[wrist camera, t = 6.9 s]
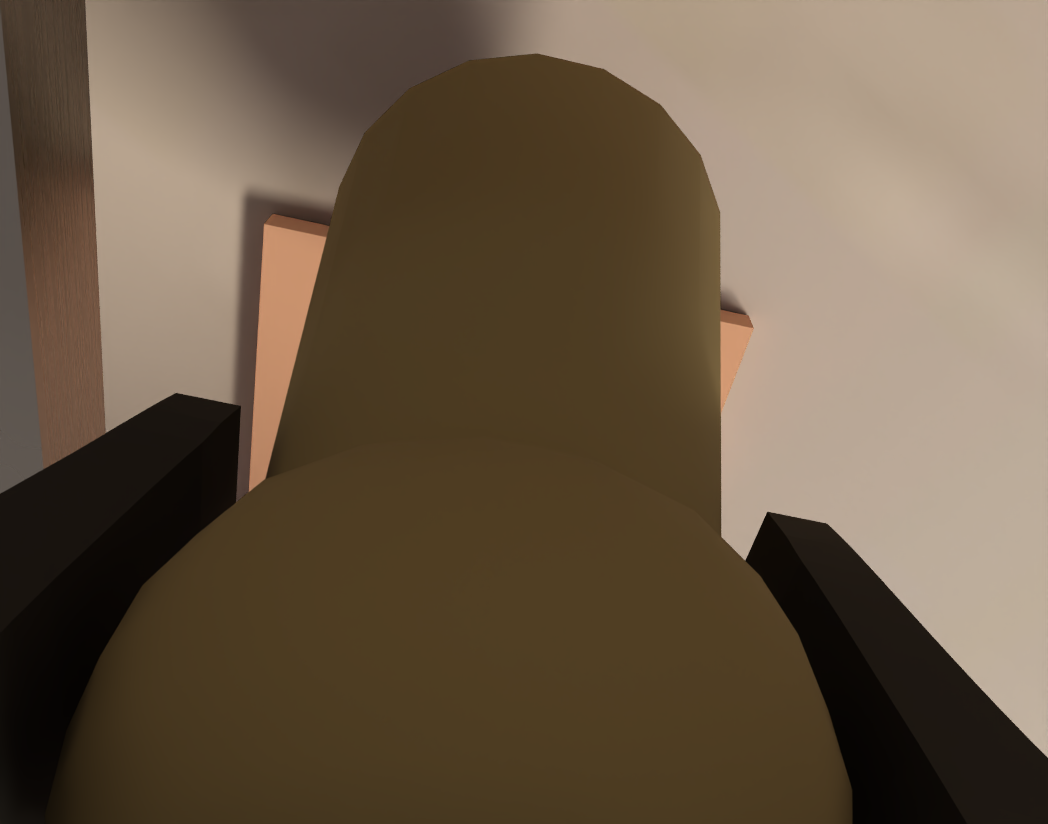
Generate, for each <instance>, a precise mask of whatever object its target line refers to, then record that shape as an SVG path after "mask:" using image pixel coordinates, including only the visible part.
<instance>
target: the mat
mask: <svg viewBox="0 0 1048 824" xmlns="http://www.w3.org/2000/svg"><path fill="white" fill-rule="evenodd" d="M328 229H329V226H327V225H323V224H318V223H313V222H309V221H304V220H299V219H295V218H290V217H285V216H281V215H276V214H272V215H271V217H270V218H269V219H268V220H267V221H266V222H265V224H264V235H263V252H262V269H261V287H260V304H259V322H258V339H257V357H256V374H255V392H254V409H253V426H252V444H251V461H250V479H249V492H250V491H251V490H252V489H253V488H254V487H256V486H257V485H258V484H259V483H261V482H262V481H263V480H264V479H265V478H266V474H267V470H268V466H269V462H270V458H271V454H272V450H273V446H274V442H275V439H276V435H277V431H278V427H279V423H280V419H281V415H282V411H283V407H284V403H285V399H286V395H287V391H288V387H289V383H290V379H291V375H292V371H293V367H294V364H295V360H296V356H297V352H298V348H299V344H300V340H301V336H302V332H303V328H304V324H305V320H306V316H307V312H308V308H309V304H310V300H311V296H312V293H313V289H314V285H315V281H316V277H317V273H318V269H319V265H320V261H321V257H322V253H323V249H324V245H325V241H326V237H327V233H328ZM720 324H721V412H722V409H723V407H724V404H725V401H726V399H727V396H728V394H729V391H730V389H731V386H732V383H733V381H734V378H735V376H736V373H737V370H738V368H739V365H740V363H741V360H742V357H743V355H744V352H745V350H746V347H747V345H748V342H749V339H750V337H751V334H752V332H753V329H754V328H753V325H752V323H751V320H750V318H749V316H748V315H743V314H738V313H734V312H729V311H724V310H720Z"/></svg>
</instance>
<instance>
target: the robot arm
mask: <svg viewBox="0 0 1048 824" xmlns="http://www.w3.org/2000/svg"><path fill="white" fill-rule="evenodd" d="M240 412H241V406H238V405H233V404H228V403H223V402H218V401H213V400H208V399H203V398H198V397H193V396H188V395H183V394H178V393H175V394H173V395H171V396H170V397H168V398H166V399H164V400H162V401H160V402H158V403H157V404H155V405H153V406H151V407H150V408H148V409H146V410H145V411H143V412H141V413H139V414H138V415H136V416H134V417H133V418H131V419H129V420H128V421H126V422H124V423H122V424H121V425H119V426H117V427H116V428H114V429H112V430H111V431H109V432H107V433H105V434H104V435H102V436H100V437H99V438H97V439H95V440H94V441H92V442H90V443H88V444H87V445H85V446H83V447H82V448H80V449H78V450H76V451H75V452H73V453H71V454H70V455H68V456H66V457H64V458H62V459H61V460H59V461H57V462H55V463H54V464H52V465H50V466H48V467H47V468H45V469H43V470H41V471H39V472H38V473H36V474H34V475H32V476H31V477H29V478H27V479H25V480H24V481H22V482H20V483H18V484H16V485H15V486H13V487H11V488H9V489H8V490H6V491H4V492H2V493H1V494H0V824H45V812H46V808H47V804H48V801H49V797H50V793H51V789H52V785H53V781H54V777H55V773H56V769H57V765H58V761H59V757H60V754H61V750H62V746H63V742H64V738H65V734H66V730H67V728H68V726H69V723H70V721H71V719H72V717H73V715H74V712H75V710H76V708H77V706H78V704H79V701H80V699H81V697H82V695H83V693H84V690H85V688H86V686H87V684H88V682H89V679H90V677H91V675H92V673H93V670H94V668H95V666H96V664H97V662H98V659H99V657H100V655H101V654H102V652H103V650H104V649H105V647H106V645H107V644H108V642H109V640H110V639H111V637H112V635H113V634H114V632H115V630H116V629H117V627H118V625H119V624H120V622H121V620H122V619H123V617H124V615H125V614H126V612H127V610H128V608H129V607H130V605H131V603H132V602H133V600H134V598H135V597H136V595H137V593H138V592H139V590H140V588H141V587H142V585H143V584H144V583H145V582H146V581H148V580H149V579H150V578H151V577H152V576H153V575H154V574H155V573H156V572H157V571H158V570H159V569H160V568H161V567H162V566H164V565H165V564H166V563H167V562H168V561H169V560H170V559H171V558H172V557H173V556H174V555H175V554H176V553H177V552H178V551H180V550H181V549H182V548H183V547H184V546H185V545H186V544H187V543H188V542H189V541H190V540H191V539H192V538H193V537H194V536H196V535H197V534H198V533H199V532H200V531H202V530H203V529H204V528H205V527H206V526H208V525H209V524H210V523H211V522H213V521H214V520H215V519H216V518H218V517H219V516H220V515H221V514H222V513H224V512H225V511H226V510H227V509H229V508H230V507H231V506H232V505H234V504H235V503H236V490H237V470H238V451H239V432H240ZM746 562H747V563H748V564H749V565H750V566H751V567H752V568H753V569H754V570H755V571H756V572H757V573H758V574H759V575H760V576H761V578H762V579H763V581H764V583H765V584H766V586H767V587H768V589H769V590H770V592H771V593H772V595H773V596H774V598H775V599H776V601H777V603H778V604H779V606H780V607H781V609H782V610H783V612H784V613H785V615H786V616H787V618H788V619H789V621H790V623H791V624H792V626H793V627H794V629H795V630H796V632H797V633H798V635H799V638H800V640H801V643H802V646H803V648H804V651H805V653H806V656H807V658H808V661H809V663H810V666H811V668H812V671H813V673H814V676H815V678H816V681H817V683H818V686H819V688H820V691H821V693H822V696H823V698H824V701H825V703H826V706H827V708H828V711H829V714H830V717H831V721H832V724H833V727H834V731H835V734H836V737H837V741H838V744H839V747H840V751H841V754H842V757H843V761H844V764H845V767H846V771H847V774H848V778H849V781H850V784H851V788H852V824H1048V758H1047V757H1046V756H1045V755H1044V754H1043V753H1042V752H1041V751H1040V750H1039V749H1038V748H1037V747H1036V746H1035V745H1034V744H1033V743H1032V742H1031V741H1030V740H1029V739H1028V738H1027V737H1026V736H1025V734H1024V733H1023V732H1022V731H1021V730H1020V729H1019V728H1018V727H1017V726H1016V725H1015V724H1014V723H1013V722H1012V721H1011V720H1010V719H1009V718H1008V717H1007V716H1006V715H1005V714H1004V713H1003V712H1002V711H1001V710H1000V709H999V708H998V707H997V706H996V704H995V703H994V702H993V701H992V700H991V699H990V698H989V697H988V696H987V695H986V694H985V693H984V692H983V691H982V690H981V689H980V687H979V686H978V685H977V684H976V683H975V682H974V681H973V680H972V679H971V678H970V677H969V676H968V675H967V674H966V672H965V671H964V670H963V669H962V668H961V667H960V666H959V665H958V664H957V663H956V662H955V661H954V660H953V658H952V657H951V656H950V655H949V654H948V653H947V652H946V651H945V650H944V649H943V648H942V646H941V645H940V644H939V643H938V642H937V641H936V640H935V639H934V638H933V637H932V635H931V634H930V633H929V632H928V631H927V630H926V629H925V628H924V627H923V626H922V624H921V623H920V622H919V621H918V620H917V619H916V618H915V617H914V616H913V614H912V613H911V612H910V611H909V610H908V609H907V608H906V607H905V606H904V605H903V603H902V602H901V601H900V600H899V599H898V598H897V597H896V596H895V595H894V593H893V592H892V591H891V590H890V589H889V588H888V587H887V586H886V585H885V583H884V582H883V581H882V580H881V579H880V578H879V577H878V576H877V575H876V574H875V573H874V571H873V570H872V569H871V568H870V567H869V566H868V565H867V564H866V563H865V562H864V561H863V559H862V558H861V557H860V556H859V555H858V554H857V553H856V552H855V551H854V550H853V549H852V548H851V547H850V546H849V545H848V544H847V543H846V542H845V541H844V540H843V539H842V538H841V537H840V536H839V535H838V534H837V533H836V532H835V531H834V530H833V529H832V528H831V527H830V526H829V525H828V524H826V523H821V522H816V521H811V520H806V519H801V518H796V517H791V516H786V515H781V514H776V513H771V512H767V514H766V516H765V518H764V521H763V523H762V525H761V527H760V530H759V532H758V534H757V536H756V538H755V541H754V543H753V545H752V547H751V550H750V552H749V554H748V556H747V558H746Z"/></svg>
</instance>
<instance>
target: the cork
mask: <svg viewBox="0 0 1048 824" xmlns="http://www.w3.org/2000/svg"><path fill="white" fill-rule="evenodd" d="M45 824H852V788H851V784H850V781H849V778H848V774H847V771H846V767H845V764H844V761H843V757H842V754H841V751H840V747H839V744H838V741H837V737H836V734H835V731H834V727H833V724H832V721H831V717H830V714H829V711H828V708H827V706H826V703H825V701H824V698H823V696H822V693H821V691H820V688H819V686H818V683H817V681H816V678H815V676H814V673H813V671H812V668H811V666H810V663H809V661H808V658H807V656H806V653H805V651H804V648H803V646H802V643H801V640H800V638H799V635H798V633H797V632H796V630H795V629H794V627H793V626H792V624H791V623H790V621H789V619H788V618H787V616H786V615H785V613H784V612H783V610H782V609H781V607H780V606H779V604H778V603H777V601H776V599H775V598H774V596H773V595H772V593H771V592H770V590H769V589H768V587H767V586H766V584H765V583H764V581H763V579H762V578H761V576H760V575H759V574H758V573H757V572H756V571H755V570H754V569H753V568H752V567H751V566H750V565H749V564H748V563H747V562H746V561H745V560H744V559H743V558H742V557H741V556H740V555H739V554H738V553H737V552H736V551H735V550H734V549H733V548H732V547H731V546H730V545H729V544H728V543H727V542H726V541H725V540H724V539H723V538H722V537H721V324H720V211H719V208H718V205H717V202H716V199H715V196H714V193H713V190H712V187H711V184H710V181H709V178H708V175H707V173H706V170H705V167H704V164H703V161H702V158H701V155H700V154H699V152H698V151H697V150H696V149H695V147H694V146H693V145H692V144H691V142H690V141H689V140H688V139H687V137H686V136H685V135H684V134H683V132H682V131H681V130H680V129H679V127H678V126H677V125H676V124H675V122H674V121H673V120H672V119H671V117H670V116H669V115H668V113H667V112H666V111H665V110H664V108H663V107H662V106H661V105H660V104H658V103H657V102H655V101H654V100H652V99H651V98H649V97H647V96H646V95H644V94H643V93H641V92H639V91H638V90H636V89H635V88H633V87H631V86H630V85H628V84H627V83H625V82H624V81H622V80H620V79H619V78H617V77H616V76H614V75H612V74H611V73H609V72H608V71H606V70H604V69H601V68H597V67H592V66H588V65H584V64H580V63H575V62H571V61H567V60H563V59H558V58H554V57H550V56H545V55H541V54H528V55H518V56H508V57H499V58H489V59H479V60H469V61H467V62H465V63H463V64H461V65H459V66H456V67H454V68H452V69H450V70H448V71H446V72H444V73H441V74H439V75H437V76H435V77H433V78H431V79H429V80H427V81H424V82H422V83H420V84H418V85H416V86H414V87H412V88H409V89H408V90H407V91H406V92H405V93H404V94H403V95H402V96H401V97H400V98H399V99H398V100H397V101H396V102H395V103H394V104H393V105H392V106H391V107H390V108H389V109H388V110H387V111H386V112H385V113H384V114H383V115H382V116H381V117H380V118H379V119H378V120H377V121H376V122H375V123H374V124H373V125H372V126H371V127H370V128H369V129H368V130H367V131H366V132H365V133H364V136H363V138H362V140H361V142H360V144H359V146H358V148H357V150H356V153H355V155H354V157H353V159H352V161H351V163H350V165H349V167H348V169H347V172H346V174H345V176H344V178H343V180H342V182H341V184H340V186H339V190H338V194H337V198H336V202H335V206H334V210H333V214H332V218H331V222H330V225H329V229H328V233H327V237H326V241H325V245H324V249H323V253H322V257H321V261H320V265H319V269H318V273H317V277H316V281H315V285H314V289H313V293H312V296H311V300H310V304H309V308H308V312H307V316H306V320H305V324H304V328H303V332H302V336H301V340H300V344H299V348H298V352H297V356H296V360H295V364H294V367H293V371H292V375H291V379H290V383H289V387H288V391H287V395H286V399H285V403H284V407H283V411H282V415H281V419H280V423H279V427H278V431H277V435H276V439H275V442H274V446H273V450H272V454H271V458H270V462H269V466H268V470H267V474H266V478H265V479H264V480H263V481H262V482H261V483H259V484H258V485H257V486H256V487H254V488H253V489H252V490H251V491H250V492H248V493H247V494H246V495H245V496H243V497H242V498H241V499H240V500H238V501H237V502H236V503H235V504H234V505H232V506H231V507H230V508H229V509H227V510H226V511H225V512H224V513H222V514H221V515H220V516H219V517H218V518H216V519H215V520H214V521H213V522H211V523H210V524H209V525H208V526H206V527H205V528H204V529H203V530H202V531H200V532H199V533H198V534H197V535H196V536H194V537H193V538H192V539H191V540H190V541H189V542H188V543H187V544H186V545H185V546H184V547H183V548H182V549H181V550H180V551H178V552H177V553H176V554H175V555H174V556H173V557H172V558H171V559H170V560H169V561H168V562H167V563H166V564H165V565H164V566H162V567H161V568H160V569H159V570H158V571H157V572H156V573H155V574H154V575H153V576H152V577H151V578H150V579H149V580H148V581H146V582H145V583H144V584H143V585H142V587H141V588H140V590H139V592H138V593H137V595H136V597H135V598H134V600H133V602H132V603H131V605H130V607H129V608H128V610H127V612H126V614H125V615H124V617H123V619H122V620H121V622H120V624H119V625H118V627H117V629H116V630H115V632H114V634H113V635H112V637H111V639H110V640H109V642H108V644H107V645H106V647H105V649H104V650H103V652H102V654H101V655H100V657H99V659H98V662H97V664H96V666H95V668H94V670H93V673H92V675H91V677H90V679H89V682H88V684H87V686H86V688H85V690H84V693H83V695H82V697H81V699H80V701H79V704H78V706H77V708H76V710H75V712H74V715H73V717H72V719H71V721H70V723H69V726H68V728H67V730H66V734H65V738H64V742H63V746H62V750H61V754H60V757H59V761H58V765H57V769H56V773H55V777H54V781H53V785H52V789H51V793H50V797H49V801H48V804H47V808H46V812H45Z"/></svg>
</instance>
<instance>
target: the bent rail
mask: <svg viewBox="0 0 1048 824" xmlns="http://www.w3.org/2000/svg"><path fill="white" fill-rule="evenodd" d="M104 434H105V413H104V392H103V371H102V349H101V328H100V307H99V286H98V265H97V244H96V223H95V201H94V180H93V159H92V138H91V117H90V96H89V75H88V53H87V32H86V11H85V0H0V494H1V493H2V492H4V491H6V490H8V489H9V488H11V487H13V486H15V485H16V484H18V483H20V482H22V481H24V480H25V479H27V478H29V477H31V476H32V475H34V474H36V473H38V472H39V471H41V470H43V469H45V468H47V467H48V466H50V465H52V464H54V463H55V462H57V461H59V460H61V459H62V458H64V457H66V456H68V455H70V454H71V453H73V452H75V451H76V450H78V449H80V448H82V447H83V446H85V445H87V444H88V443H90V442H92V441H94V440H95V439H97V438H99V437H100V436H102V435H104Z"/></svg>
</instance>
